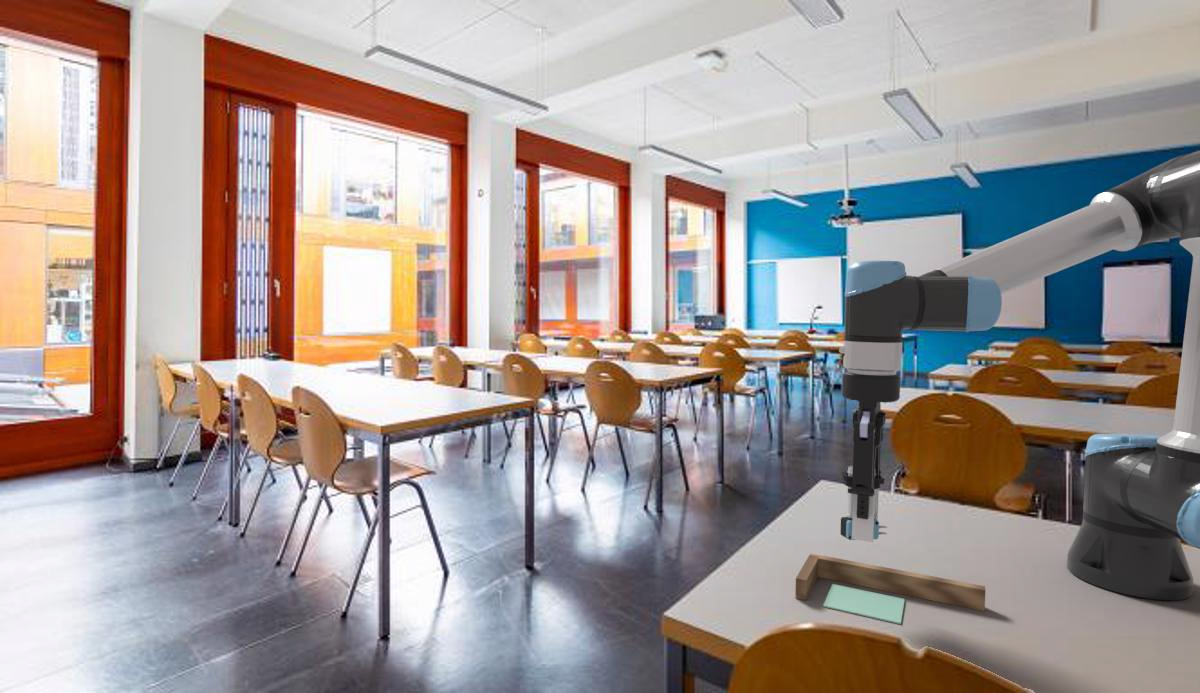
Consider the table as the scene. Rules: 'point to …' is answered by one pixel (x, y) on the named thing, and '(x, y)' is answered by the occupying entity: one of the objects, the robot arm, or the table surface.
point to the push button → (847, 521)
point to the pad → (865, 603)
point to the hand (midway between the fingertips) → (864, 533)
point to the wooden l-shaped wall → (888, 581)
